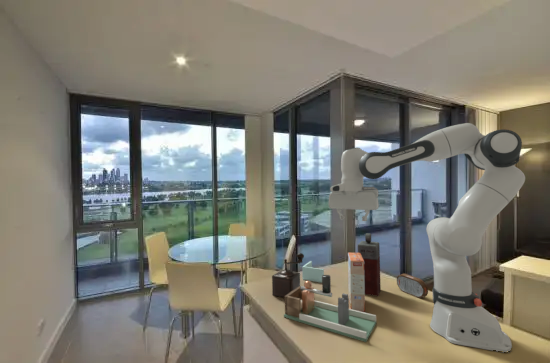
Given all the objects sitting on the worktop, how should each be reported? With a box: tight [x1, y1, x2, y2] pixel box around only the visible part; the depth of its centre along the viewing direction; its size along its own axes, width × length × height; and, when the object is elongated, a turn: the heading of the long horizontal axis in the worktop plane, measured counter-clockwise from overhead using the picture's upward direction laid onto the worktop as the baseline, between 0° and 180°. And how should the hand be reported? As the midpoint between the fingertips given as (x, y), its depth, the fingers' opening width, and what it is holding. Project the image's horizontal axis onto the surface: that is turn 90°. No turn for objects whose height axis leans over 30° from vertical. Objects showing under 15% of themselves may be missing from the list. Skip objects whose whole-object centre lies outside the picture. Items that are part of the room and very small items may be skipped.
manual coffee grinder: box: [271, 252, 305, 299], centre depth 132 cm, size 16×11×18 cm
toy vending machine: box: [357, 232, 382, 297], centre depth 131 cm, size 9×11×28 cm
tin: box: [396, 273, 429, 299], centre depth 126 cm, size 15×3×8 cm, turn 25°
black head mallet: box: [300, 274, 333, 315], centre depth 106 cm, size 13×6×15 cm, turn 56°
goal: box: [284, 285, 302, 318], centre depth 110 cm, size 7×12×7 cm, turn 146°
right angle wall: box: [301, 260, 325, 284], centre depth 151 cm, size 12×12×8 cm
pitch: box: [283, 292, 377, 343], centre depth 103 cm, size 32×14×10 cm, turn 56°
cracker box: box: [347, 251, 366, 313], centre depth 116 cm, size 14×6×21 cm, turn 168°
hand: (353, 220), depth 112 cm, fingers open, 8 cm apart
